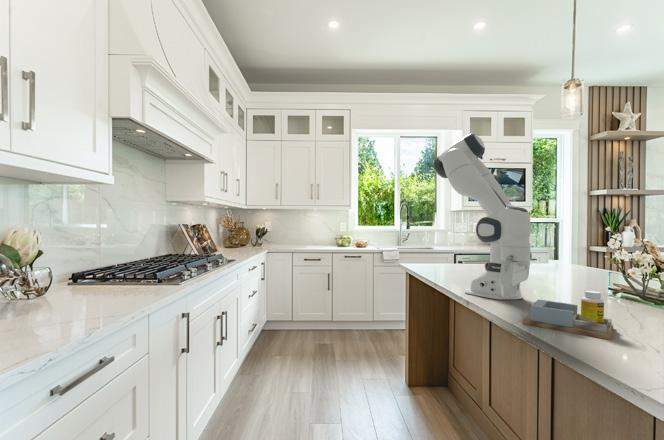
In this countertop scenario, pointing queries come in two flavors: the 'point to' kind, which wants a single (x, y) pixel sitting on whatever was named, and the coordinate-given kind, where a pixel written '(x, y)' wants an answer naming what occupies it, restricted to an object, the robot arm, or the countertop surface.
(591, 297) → the supplement bottle
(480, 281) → the robot arm
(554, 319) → the box
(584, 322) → the board
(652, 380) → the countertop surface
